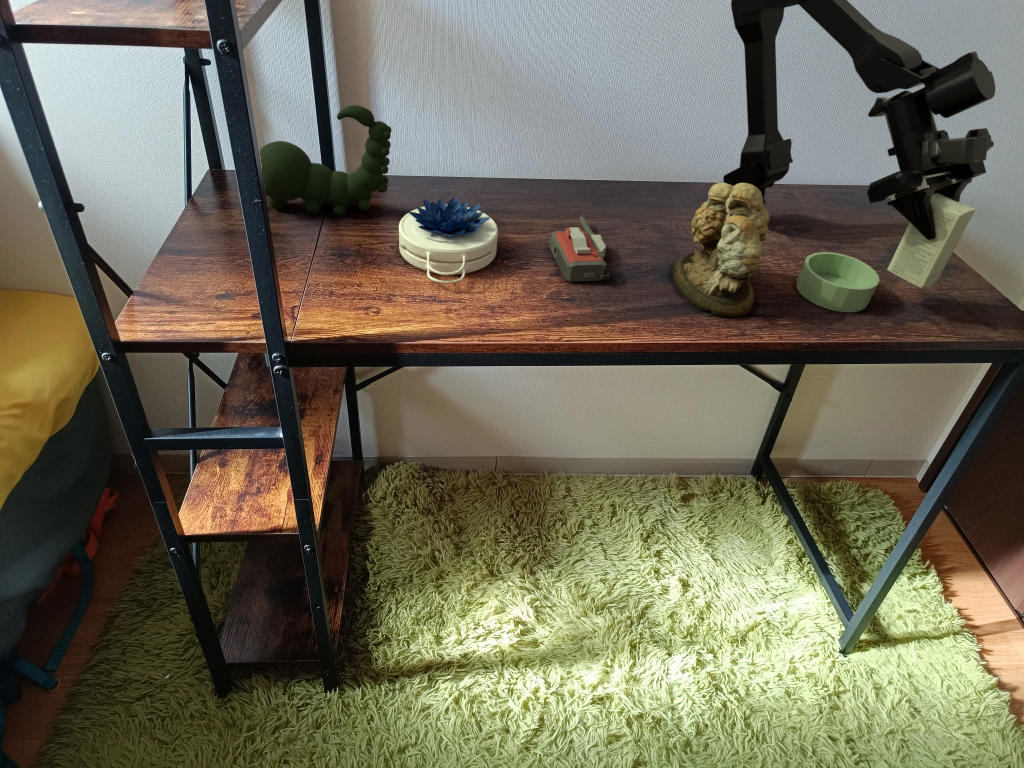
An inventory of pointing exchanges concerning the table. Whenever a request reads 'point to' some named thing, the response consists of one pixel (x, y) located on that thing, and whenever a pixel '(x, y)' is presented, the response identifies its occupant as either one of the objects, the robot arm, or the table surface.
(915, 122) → the robot arm
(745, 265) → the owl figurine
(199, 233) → the table surface
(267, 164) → the toy figurine
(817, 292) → the dish
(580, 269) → the walkie-talkie
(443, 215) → the white round gift box
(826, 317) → the table surface
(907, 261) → the cosmetic box
